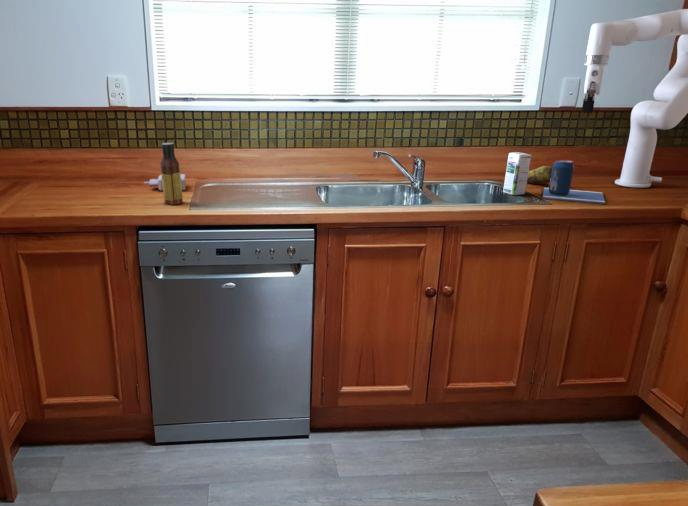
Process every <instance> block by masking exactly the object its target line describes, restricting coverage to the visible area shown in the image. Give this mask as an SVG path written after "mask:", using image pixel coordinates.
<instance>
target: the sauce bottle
mask: <svg viewBox="0 0 688 506" xmlns="http://www.w3.org/2000/svg"><path fill="white" fill-rule="evenodd" d="M160 146H161V149H162V159H161V162H160V175H161V176H162V185H163V191H162V192H163V193H162V194H163V200H164V203H165V205H168V206H169V205H170V206H175V205H181V204H183V198H184V197H183V190H182V185H181V176H180V174H181V171H180V163H179V161H178V158H176V155H175V143H174V142H162V143H161V145H160Z"/></svg>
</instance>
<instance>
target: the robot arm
mask: <svg viewBox="0 0 688 506" xmlns="http://www.w3.org/2000/svg"><path fill="white" fill-rule="evenodd" d="M677 36H679V37H678V39H677V43H676V50H677V51H676V52H677V55H676V62H675V63H674V65H673V67H672V68H671V69H670V71H668V73H667V74H666V75H665V76H664V77H663V78H662V80H661V81H660V82H659V83H658V85H656V87H655V89H654V91H653V98H654V100H649V99H648V100H647V99H646V100H642V101H639V102H637V103H636V104H635V105H634V107H632V110H631V112H630V129H629V136H628V141H627V144H626V150H625V154H624V159H623V163H622V168H621V173H620V177H619V178H617V179H615V180H614V184H615V185H617V186H621V187H627V188H634V189H635V188H636V189H647V188H650V187H652V183H662V181H663V177H661V176H660V177H658V176H653V175H651V174H650V173H651V172H650V171H651V167H652V163H653V159H654V154H655V150H656V147H657V141H658V134H657V133H658V132H657V130H671V129H673V128H675V127H676V126H678V124H679V123H680V122H681V121H682V120H683V119H684V118H685V117H686V116H687V114H688V8H683V9H682V8H681V9H676V10H671V11H666V12H661V13H654V14H649V15H642V16H639V17H632V18H627V19H620V20H617V21H615V20H614V21H609V22H594V23H593V24H592V25H591V26H590V30H589V36H588V42H587V47H586V52H585V58H584V63H583V66H587V67H586V72H585V77H584V78H585V79H584V86H583V88H584V89H583V94H584V98H583V101H582V106H581V110H582V113H583V114H593V112H594V107H595V99H596V96H599V95H600V92H601V87H602V86H601V85H602V82H603V76H604V70H605V66H606V67H607V66H608V63H609V59H610V54H611V50H612V46H614V47H615V46H616V47H623V46H628V45H631V44H632V43H634V42H649V41H656V40H662V39H665V38H671V37H677Z"/></svg>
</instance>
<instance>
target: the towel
mask: <svg viewBox="0 0 688 506" xmlns="http://www.w3.org/2000/svg"><path fill="white" fill-rule="evenodd" d="M542 200H550V201H563V202H572V203H583V204H584V203H585V204H593V205H595V204H597V205H606V200H605V197H604V193H603V192H602V191H591V190H580V189H570V191H569V193H568V194H567V195H566V196H554V195H551V194H550V192H549V187H543V192H542Z"/></svg>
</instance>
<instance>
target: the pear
mask: <svg viewBox="0 0 688 506" xmlns="http://www.w3.org/2000/svg"><path fill="white" fill-rule="evenodd" d="M552 168H553V165H542V166H540V167H537V168H534V169H532V170H531V169H530V170H529V172H528V178H527V184H533V185H538V186H539V185H540V186H541V185H546V184H550V180H551V174H552Z"/></svg>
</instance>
